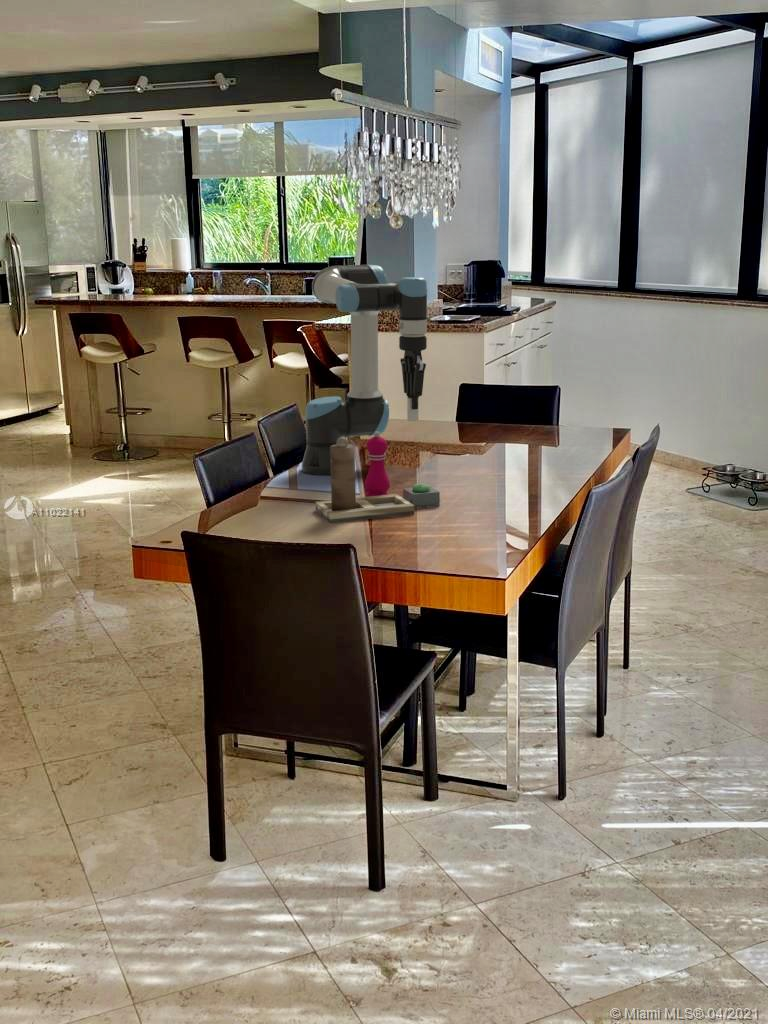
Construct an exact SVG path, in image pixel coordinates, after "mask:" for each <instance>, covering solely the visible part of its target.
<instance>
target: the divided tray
mask: <svg viewBox="0 0 768 1024" xmlns="http://www.w3.org/2000/svg"><path fill="white" fill-rule="evenodd" d="M315 511H316V512H317V513H318V514H319V513H320V514H321V515H320V514H319V515H320V516H322V517H323V518H324V519H325V520H326V521H327V520H328V523H330V524H334V523H341V522H342V523H343V522H352V521H354V522H355V521H361V520H373V519H380V518H391V516H393V517H401V516H402V515H403V516H409V515H410V514H412V515H415V508H414V505H413V504H411V503H410V502H408V501H407V500H405V499H403V496H401V495H399V494H397V493H393V494H392V493H391V494H388V495H380V496H370V497H367V496H362V497H356V509H349V510H339V511H332V501H331V499H330V500H320V501H315ZM403 516H402V517H403Z"/></svg>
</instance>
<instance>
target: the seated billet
mask: <svg viewBox="0 0 768 1024" xmlns="http://www.w3.org/2000/svg"><path fill="white" fill-rule="evenodd" d="M336 444H337V445H332V446H330V459H331V474H330V490H331V492H330V493H331V499H330V500H331V501H332V511H339V510H349V509H356V498H357V497H356V495H357V494H356V451H355V449H356V448H355V447H356V446H355V445H354V444H351V443H350V444H349V440H348V438H347V437H340V438H338V439H337V442H336Z"/></svg>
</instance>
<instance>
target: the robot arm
mask: <svg viewBox="0 0 768 1024" xmlns="http://www.w3.org/2000/svg"><path fill="white" fill-rule="evenodd" d="M311 290H312V293H313V295H314V297H315V298H316V299H317V300H319V301H320V302H322V303H325V304H336V305H335V306H336V308H337V310H338V312H340V313H349V314H350V346H351V347H350V352H351V353H350V355H351V356H350V358H351V359H350V360H351V361H350V362H351V367H350V369H351V389H350V390H349V392H348V393H347V394H346V400H343V399H342V397H341V396H337V395H335V396H334V395H332V396H324V397H323V396H322V397H319V398H315V399H312V400H309V402H307V404H306V405H305V416H304V418H305V434H306V436H305V438H306V449H305V451H304V455H303V459H302V462H301V472H303V473H305V474H308V475H317V476H318V475H321V476H323V475H324V476H327V475H328V476H329V475H330V476H331V459H330V446H332V445H337V444H336V442H337V439H338V438H340V437H345V438H348V437H364V436H366V437H367V436H369V437H372V436H374V433H375V432H379V433H380V435H381V434H382V433H383V434H384V432H385V431H386V429H387V427H388V424H389V419H390V408H389V407H390V406H389V405H390V404H389V402H388V400H387V399H386V398H385V397H384V393H382V391H380V389H379V328H378V327H379V320H378V317H379V316H378V315H379V313H380V312H384V311H385V312H391V311H392V312H394V311H395V312H396V311H398V312H399V313H398V317H399V320H398V321H399V323H397V327H398V328H399V330H398V332H399V334H400V336H399V338H398V343H399V344H398V345H399V346H398V347H399V350H401V351H404V354H403V355H404V356H403V358H400V359H399V360H400V365H401V372H402V374H401V375H402V384H403V393H404V394H405V395H406V397H407V398H406V399H407V400H406V401H407V403H406V404H407V405H406V406H407V410H406V412H407V416H406V417H407V418H406V420H407V421H409V422H413V421H414V422H415V421H416V422H417V421H419V398H420V397H422V396H423V389H424V379H425V378H424V377H425V371H426V366H427V364H426V362H423V357H422V351H425V350H426V349H427V346H428V345H427V343H428V342H427V340H428V339H427V336H426V334H427V333H428V319H427V318H428V317H427V315H428V314H427V313H428V311H427V309H428V308H427V307H428V300H427V299H428V297H427V296H428V287H427V280H426V279H425V278H424V277H419V276H418V277H417V276H412V277H411V276H408V277H401V278H400V279H399V281H397V282H396V281H395V282H392V283H391V282H390V283H389V282H388V277H387V275H386V272H385V270H384V269H383V268H382V266H380V265H377V264H376V265H375V264H353V265H352V264H351V265H332V266H328V267H325V268H323V269H321V270H319V271H318V272H317V273H316V274H315V276H314V278H313V280H312V282H311Z"/></svg>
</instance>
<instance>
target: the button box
mask: <svg viewBox="0 0 768 1024" xmlns="http://www.w3.org/2000/svg"><path fill="white" fill-rule="evenodd" d="M440 497H441V494H440V491H439V490H437V489H435V488H434V487H431V486H430V490H429V491H426V492H416V491H413V486H412V487H404V488H402V498H403V499H405V500H407V501H408V502H410V503H411V504H413V505H414V509H418V508H417V507H422V508H428V507H427V506H432V507H439V505H441V503H440V501H441V499H440Z"/></svg>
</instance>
